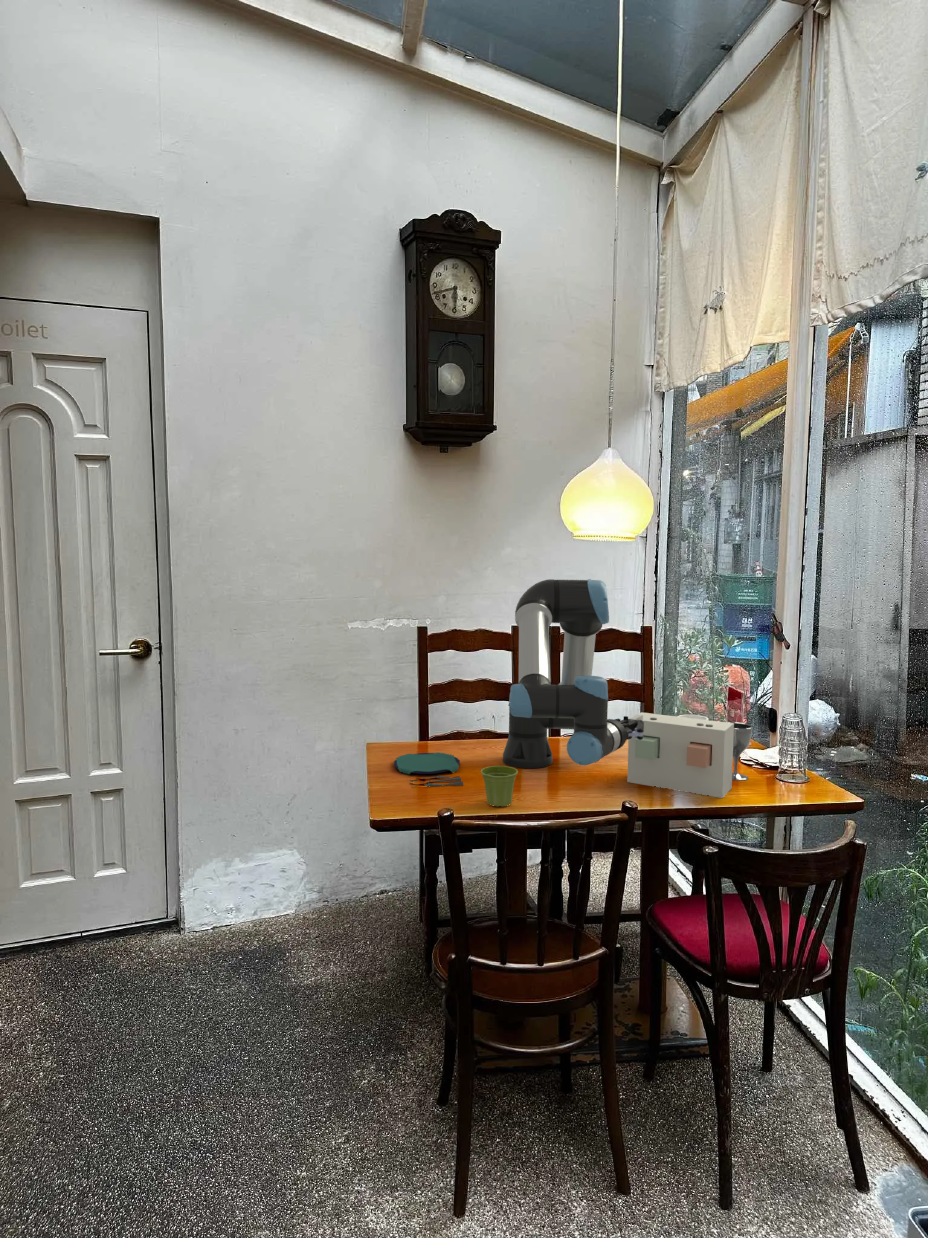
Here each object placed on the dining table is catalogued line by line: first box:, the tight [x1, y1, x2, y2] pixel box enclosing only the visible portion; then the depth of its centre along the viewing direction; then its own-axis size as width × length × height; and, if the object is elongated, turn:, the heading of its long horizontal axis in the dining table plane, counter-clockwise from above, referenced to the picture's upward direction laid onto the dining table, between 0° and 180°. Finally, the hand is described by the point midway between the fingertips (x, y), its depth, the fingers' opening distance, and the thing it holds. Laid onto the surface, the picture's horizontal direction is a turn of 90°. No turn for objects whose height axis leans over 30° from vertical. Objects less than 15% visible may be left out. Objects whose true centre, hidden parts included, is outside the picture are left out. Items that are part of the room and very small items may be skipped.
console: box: [626, 711, 734, 799], centre depth 214 cm, size 10×26×18 cm, turn 58°
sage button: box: [635, 735, 660, 760], centre depth 213 cm, size 6×5×5 cm
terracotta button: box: [687, 742, 712, 768], centre depth 205 cm, size 6×5×5 cm
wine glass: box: [727, 721, 753, 782], centre depth 223 cm, size 8×8×15 cm
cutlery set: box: [393, 752, 464, 788], centre depth 227 cm, size 20×30×2 cm, turn 9°
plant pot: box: [480, 765, 519, 807], centre depth 199 cm, size 9×9×9 cm
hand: (640, 720), depth 205 cm, fingers closed
